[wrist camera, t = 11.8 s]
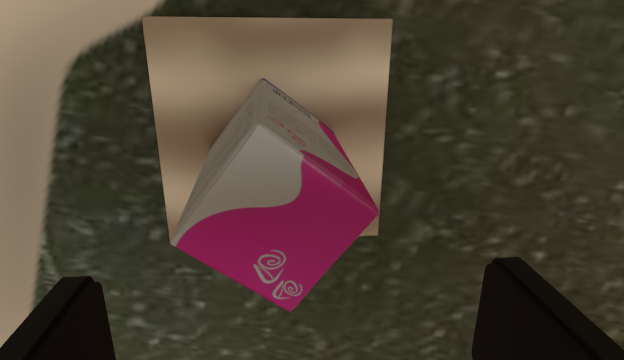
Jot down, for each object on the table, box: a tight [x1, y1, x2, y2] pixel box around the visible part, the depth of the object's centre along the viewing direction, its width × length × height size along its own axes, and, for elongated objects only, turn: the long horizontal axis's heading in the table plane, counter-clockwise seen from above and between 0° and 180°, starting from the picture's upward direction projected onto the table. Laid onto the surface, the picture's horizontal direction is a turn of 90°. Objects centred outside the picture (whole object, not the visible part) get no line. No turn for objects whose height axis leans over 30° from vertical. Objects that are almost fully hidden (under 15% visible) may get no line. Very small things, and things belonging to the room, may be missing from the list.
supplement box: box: [170, 78, 380, 312], centre depth 20 cm, size 6×6×12 cm
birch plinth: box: [142, 16, 393, 245], centre depth 27 cm, size 14×14×4 cm
